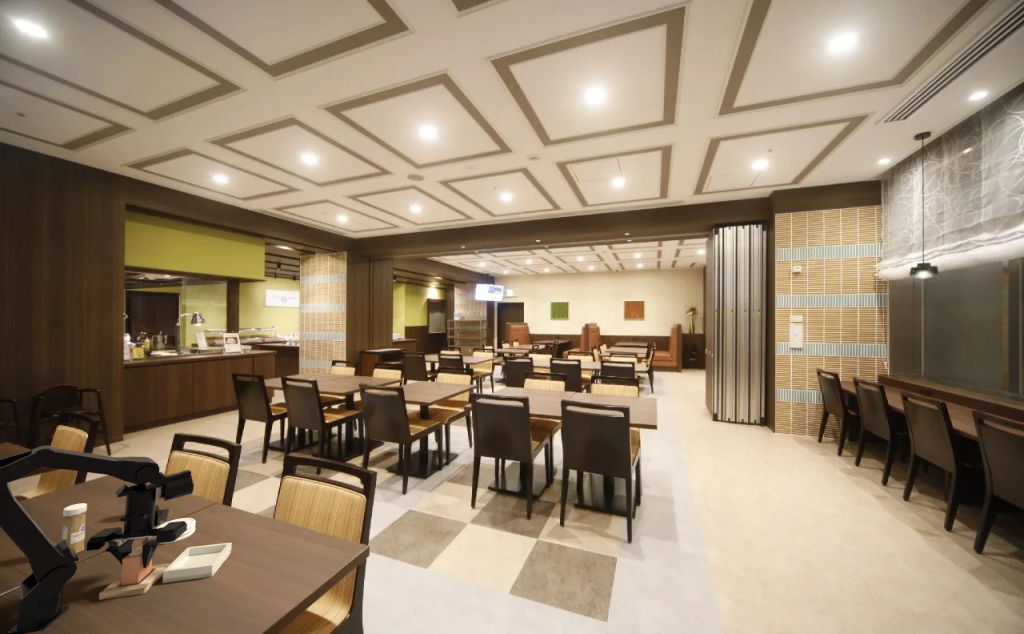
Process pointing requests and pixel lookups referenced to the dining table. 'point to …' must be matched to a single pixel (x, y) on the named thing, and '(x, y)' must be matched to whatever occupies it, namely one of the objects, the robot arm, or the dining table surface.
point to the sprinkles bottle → (74, 526)
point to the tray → (197, 562)
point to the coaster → (187, 533)
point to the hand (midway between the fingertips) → (137, 568)
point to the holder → (121, 591)
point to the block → (134, 568)
